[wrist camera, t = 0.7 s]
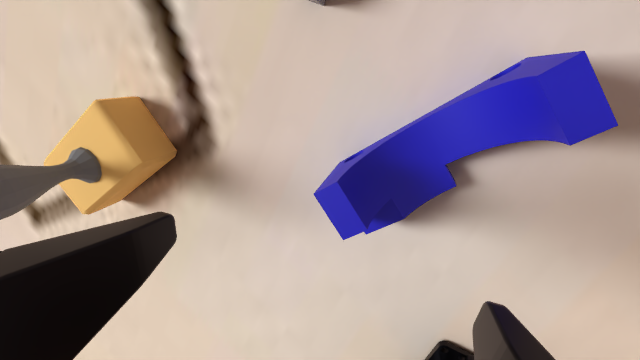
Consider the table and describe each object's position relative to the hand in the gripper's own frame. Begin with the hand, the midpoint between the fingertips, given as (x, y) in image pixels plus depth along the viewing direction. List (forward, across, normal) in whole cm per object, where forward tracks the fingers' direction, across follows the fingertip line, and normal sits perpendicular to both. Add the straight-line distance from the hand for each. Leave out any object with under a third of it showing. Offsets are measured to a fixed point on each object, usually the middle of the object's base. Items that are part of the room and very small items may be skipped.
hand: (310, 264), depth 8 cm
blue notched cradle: (+13, -4, 0) cm, 14 cm away
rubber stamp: (+13, +21, +5) cm, 25 cm away
